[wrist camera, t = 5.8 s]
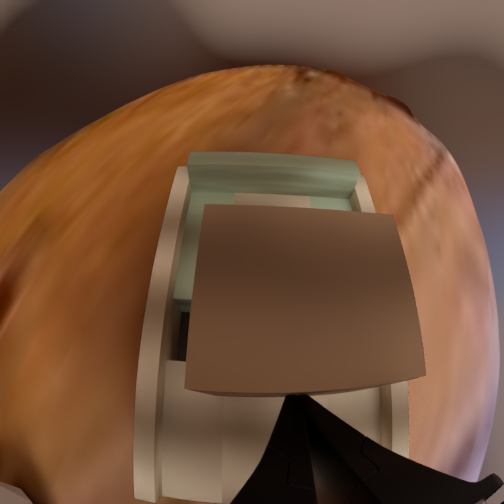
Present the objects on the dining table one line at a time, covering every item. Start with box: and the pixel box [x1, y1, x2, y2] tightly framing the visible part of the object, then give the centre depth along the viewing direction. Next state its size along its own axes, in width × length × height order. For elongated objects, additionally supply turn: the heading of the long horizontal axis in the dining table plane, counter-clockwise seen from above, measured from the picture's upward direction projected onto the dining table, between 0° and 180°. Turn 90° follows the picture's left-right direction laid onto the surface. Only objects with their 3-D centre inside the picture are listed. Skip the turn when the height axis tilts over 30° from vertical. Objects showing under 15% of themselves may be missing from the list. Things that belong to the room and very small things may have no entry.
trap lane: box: [133, 152, 409, 504], centre depth 17 cm, size 24×15×6 cm, turn 179°
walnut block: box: [184, 204, 426, 397], centre depth 12 cm, size 6×7×9 cm
